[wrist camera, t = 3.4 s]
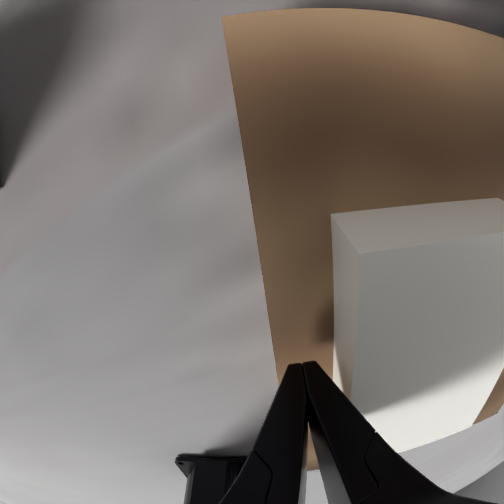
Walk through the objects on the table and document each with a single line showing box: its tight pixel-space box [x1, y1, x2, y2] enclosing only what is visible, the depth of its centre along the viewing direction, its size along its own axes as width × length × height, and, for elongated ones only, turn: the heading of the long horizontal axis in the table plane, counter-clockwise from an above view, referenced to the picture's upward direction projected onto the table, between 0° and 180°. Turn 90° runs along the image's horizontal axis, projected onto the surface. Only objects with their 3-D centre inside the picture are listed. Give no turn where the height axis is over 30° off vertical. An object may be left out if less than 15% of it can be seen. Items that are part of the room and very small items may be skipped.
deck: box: [222, 8, 504, 471], centre depth 11 cm, size 20×14×4 cm
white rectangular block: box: [331, 198, 504, 453], centre depth 8 cm, size 9×6×2 cm, turn 8°
